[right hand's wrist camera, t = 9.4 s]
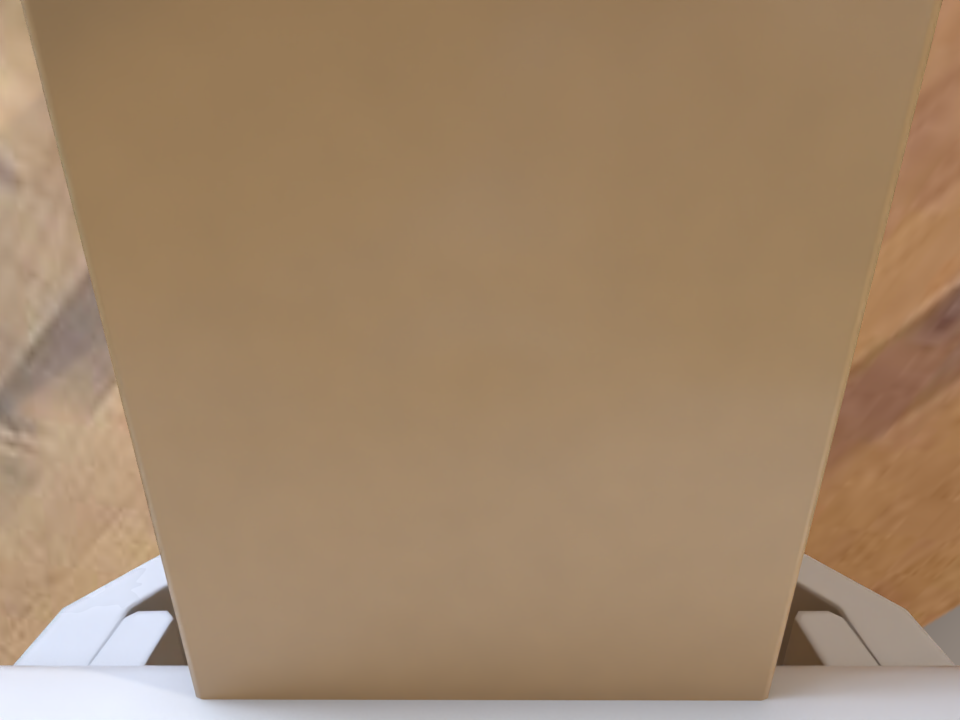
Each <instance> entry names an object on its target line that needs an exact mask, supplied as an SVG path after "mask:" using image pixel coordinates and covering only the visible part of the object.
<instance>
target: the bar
mask: <svg viewBox="0 0 960 720" xmlns="http://www.w3.org/2000/svg"><path fill="white" fill-rule="evenodd" d="M21 4H22V8H23V12H24V16H25V20H26V24H27V28H28V32H29V36H30V40H31V44H32V48H33V52H34V56H35V60H36V64H37V68H38V72H39V76H40V80H41V84H42V88H43V91H44V95H45V99H46V103H47V107H48V111H49V115H50V119H51V123H52V127H53V131H54V135H55V139H56V143H57V147H58V151H59V155H60V159H61V163H62V167H63V171H64V175H65V179H66V183H67V187H68V191H69V195H70V199H71V203H72V207H73V211H74V215H75V218H76V222H77V226H78V230H79V234H80V238H81V242H82V246H83V250H84V254H85V258H86V262H87V266H88V270H89V274H90V278H91V282H92V286H93V290H94V294H95V298H96V302H97V306H98V310H99V314H100V318H101V322H102V326H103V330H104V334H105V338H106V342H107V345H108V349H109V353H110V357H111V361H112V365H113V369H114V373H115V377H116V381H117V385H118V389H119V393H120V397H121V401H122V405H123V409H124V413H125V417H126V421H127V425H128V429H129V433H130V437H131V441H132V445H133V449H134V453H135V457H136V461H137V465H138V469H139V472H140V476H141V480H142V484H143V488H144V492H145V496H146V500H147V504H148V508H149V512H150V516H151V520H152V524H153V528H154V532H155V536H156V540H157V544H158V548H159V552H160V556H161V560H162V564H163V568H164V572H165V576H166V580H167V584H168V588H169V592H170V595H171V599H172V603H173V607H174V611H175V615H176V619H177V623H178V627H179V631H180V635H181V639H182V643H183V647H184V651H185V655H186V659H187V663H188V667H189V671H190V675H191V679H192V683H193V687H194V691H195V695H196V697H197V698H200V699H215V700H691V701H762V700H764V699H767V698H768V695H769V691H770V687H771V683H772V679H773V675H774V671H775V667H776V663H777V659H778V655H779V651H780V647H781V643H782V639H783V635H784V631H785V627H786V623H787V619H788V615H789V611H790V607H791V603H792V599H793V595H794V591H795V587H796V583H797V579H798V575H799V571H800V567H801V563H802V559H803V555H804V551H805V547H806V543H807V539H808V535H809V531H810V527H811V523H812V519H813V515H814V511H815V507H816V503H817V499H818V495H819V491H820V487H821V483H822V480H823V476H824V472H825V468H826V464H827V460H828V456H829V452H830V448H831V444H832V440H833V436H834V432H835V428H836V424H837V420H838V416H839V412H840V408H841V404H842V400H843V396H844V392H845V388H846V384H847V380H848V376H849V372H850V368H851V364H852V360H853V356H854V352H855V348H856V344H857V340H858V336H859V332H860V328H861V324H862V320H863V316H864V312H865V308H866V304H867V300H868V296H869V292H870V288H871V284H872V280H873V276H874V272H875V268H876V264H877V260H878V256H879V252H880V248H881V244H882V240H883V236H884V232H885V228H886V224H887V220H888V216H889V212H890V208H891V204H892V200H893V196H894V192H895V188H896V184H897V180H898V176H899V172H900V168H901V164H902V160H903V156H904V152H905V148H906V144H907V140H908V136H909V132H910V128H911V124H912V120H913V116H914V112H915V108H916V104H917V100H918V96H919V92H920V88H921V84H922V80H923V76H924V72H925V68H926V64H927V60H928V56H929V52H930V48H931V44H932V40H933V36H934V32H935V28H936V24H937V20H938V16H939V12H940V8H941V4H942V0H21Z"/></svg>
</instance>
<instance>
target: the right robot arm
mask: <svg viewBox="0 0 960 720" xmlns="http://www.w3.org/2000/svg"><path fill="white" fill-rule="evenodd" d="M0 720H960V666H955V664H954V663H953V662H952V661H951V660H950V659H949V658H948V657H947V655H946V654H945V653H944V652H943V651H942V650H941V649H940V647H939V646H938V645H937V644H936V643H935V642H934V641H933V640H932V638H931V637H930V636H929V635H928V634H927V633H926V632H925V630H924V629H923V628H922V627H921V626H920V625H919V624H918V622H917V621H916V620H915V619H914V618H913V617H912V616H911V614H910V613H909V612H908V611H907V610H906V609H904V608H903V607H901V606H899V605H897V604H895V603H893V602H892V601H890V600H888V599H886V598H884V597H883V596H881V595H879V594H877V593H875V592H873V591H872V590H870V589H868V588H866V587H864V586H862V585H861V584H859V583H857V582H855V581H853V580H851V579H850V578H848V577H846V576H844V575H842V574H840V573H839V572H837V571H835V570H833V569H831V568H829V567H828V566H826V565H824V564H822V563H820V562H819V561H817V560H815V559H813V558H811V557H809V556H808V555H806V554H804V555H803V559H802V563H801V567H800V571H799V575H798V579H797V583H796V587H795V591H794V595H793V599H792V603H791V607H790V611H789V615H788V619H787V623H786V627H785V631H784V635H783V639H782V643H781V647H780V651H779V655H778V659H777V663H776V667H775V671H774V675H773V679H772V683H771V687H770V691H769V695H768V698H767V699H764V700H762V701H691V700H215V699H200V698H197V697H196V695H195V691H194V687H193V683H192V679H191V675H190V671H189V667H188V663H187V659H186V655H185V651H184V647H183V643H182V639H181V635H180V631H179V627H178V623H177V619H176V615H175V611H174V607H173V603H172V599H171V595H170V592H169V588H168V584H167V580H166V576H165V572H164V568H163V564H162V560H161V556H160V555H159V556H157V557H155V558H153V559H152V560H150V561H148V562H146V563H144V564H142V565H141V566H139V567H137V568H135V569H133V570H132V571H130V572H128V573H126V574H124V575H122V576H121V577H119V578H117V579H115V580H113V581H112V582H110V583H108V584H106V585H104V586H102V587H101V588H99V589H97V590H95V591H93V592H92V593H90V594H88V595H86V596H84V597H83V598H81V599H79V600H77V601H75V602H73V603H72V604H70V605H68V606H66V607H64V608H63V609H62V610H61V611H60V612H59V613H58V614H57V615H56V617H55V618H54V619H53V620H52V621H51V622H50V624H49V625H48V626H47V627H46V628H45V629H44V630H43V632H42V633H41V634H40V635H39V636H38V637H37V638H36V640H35V641H34V642H33V643H32V644H31V645H30V646H29V648H28V649H27V650H26V651H25V652H24V653H23V655H22V656H21V657H20V658H19V659H18V660H17V661H16V663H15V664H14V665H0Z"/></svg>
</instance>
